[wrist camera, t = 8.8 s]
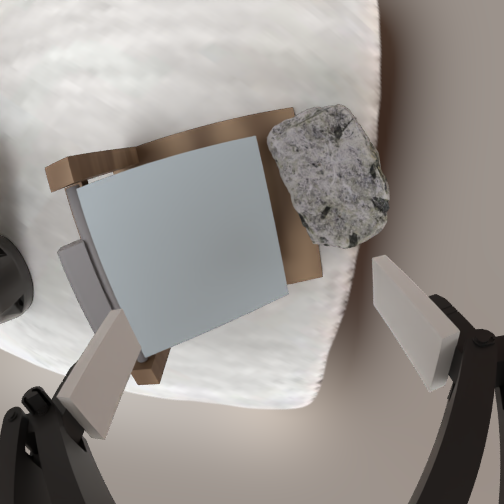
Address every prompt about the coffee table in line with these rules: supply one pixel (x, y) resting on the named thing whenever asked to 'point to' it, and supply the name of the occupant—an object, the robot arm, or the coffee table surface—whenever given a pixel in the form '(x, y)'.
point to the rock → (331, 175)
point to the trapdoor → (176, 244)
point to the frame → (118, 160)
